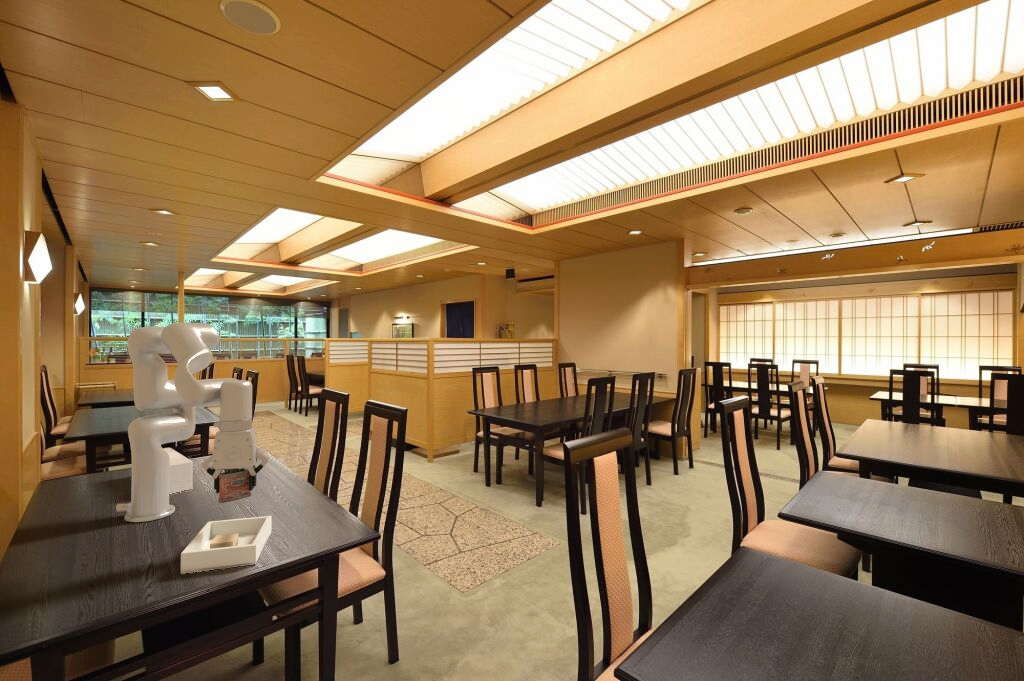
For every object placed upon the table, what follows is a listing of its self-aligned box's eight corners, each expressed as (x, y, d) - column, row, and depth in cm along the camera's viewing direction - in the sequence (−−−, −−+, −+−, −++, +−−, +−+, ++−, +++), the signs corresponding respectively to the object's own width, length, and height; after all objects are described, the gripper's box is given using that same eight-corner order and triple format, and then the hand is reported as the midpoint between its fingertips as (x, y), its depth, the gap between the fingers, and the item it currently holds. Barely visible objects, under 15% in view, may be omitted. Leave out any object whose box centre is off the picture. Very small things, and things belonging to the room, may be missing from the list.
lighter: (221, 504, 121) (221, 466, 121) (216, 501, 123) (216, 464, 123) (253, 496, 127) (254, 460, 127) (248, 493, 129) (248, 458, 129)
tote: (180, 574, 110) (180, 553, 110) (208, 539, 129) (208, 521, 129) (255, 565, 114) (255, 545, 114) (271, 532, 133) (271, 515, 133)
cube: (209, 564, 113) (209, 543, 113) (216, 554, 118) (216, 535, 118) (232, 561, 115) (232, 541, 115) (238, 552, 119) (238, 533, 119)
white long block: (137, 478, 183) (137, 451, 183) (169, 473, 191) (170, 447, 191) (156, 497, 162) (157, 467, 162) (192, 490, 170) (193, 461, 170)
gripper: (194, 429, 119) (193, 498, 119) (268, 426, 124) (268, 492, 124) (204, 424, 126) (203, 489, 126) (274, 421, 131) (273, 483, 131)
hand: (235, 490), depth 125 cm, fingers closed on lighter, 7 cm apart
